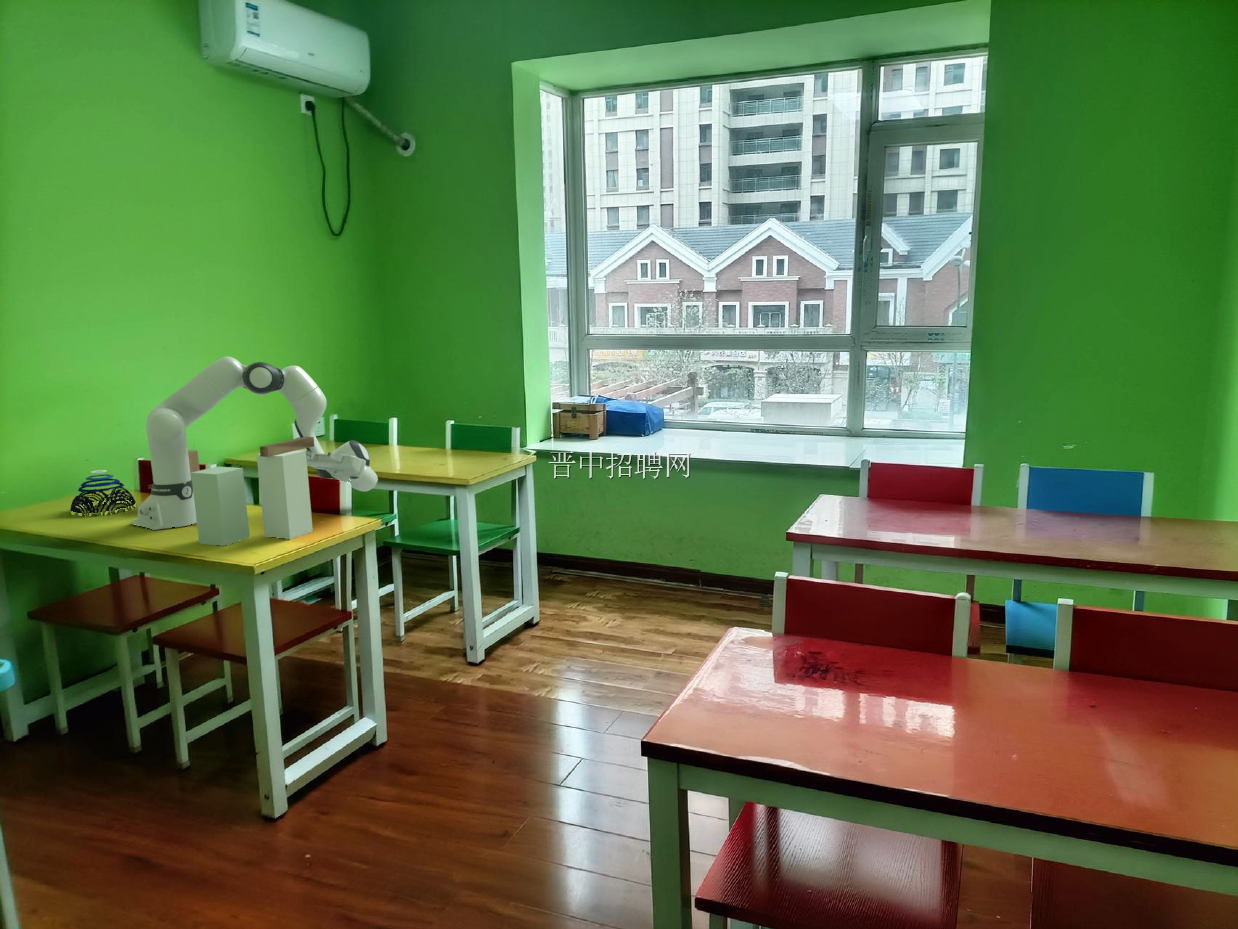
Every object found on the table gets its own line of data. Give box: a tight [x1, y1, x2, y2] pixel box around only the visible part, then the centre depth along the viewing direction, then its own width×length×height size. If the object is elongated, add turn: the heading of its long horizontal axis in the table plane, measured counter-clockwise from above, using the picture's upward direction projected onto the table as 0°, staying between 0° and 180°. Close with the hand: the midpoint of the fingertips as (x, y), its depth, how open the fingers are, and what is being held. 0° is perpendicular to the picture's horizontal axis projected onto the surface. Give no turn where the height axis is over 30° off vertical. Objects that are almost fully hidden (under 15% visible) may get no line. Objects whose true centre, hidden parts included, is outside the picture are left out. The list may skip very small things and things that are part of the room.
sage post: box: [191, 466, 251, 547], centre depth 257 cm, size 10×10×22 cm
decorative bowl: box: [69, 469, 137, 515], centre depth 301 cm, size 20×20×14 cm
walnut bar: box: [259, 437, 314, 457], centre depth 262 cm, size 3×20×3 cm, turn 159°
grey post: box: [256, 449, 314, 540], centre depth 262 cm, size 10×10×26 cm
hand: (317, 453), depth 275 cm, fingers open, 8 cm apart
